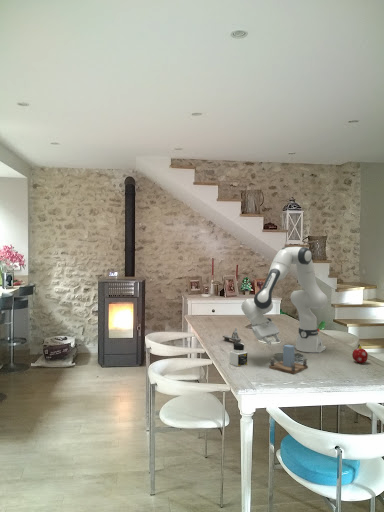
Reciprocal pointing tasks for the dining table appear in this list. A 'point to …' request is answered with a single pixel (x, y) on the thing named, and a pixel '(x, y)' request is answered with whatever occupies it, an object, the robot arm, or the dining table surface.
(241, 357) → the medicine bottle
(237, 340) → the sculpture
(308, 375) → the dining table surface
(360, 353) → the christmas ornament
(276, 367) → the peg board
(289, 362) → the blue block
